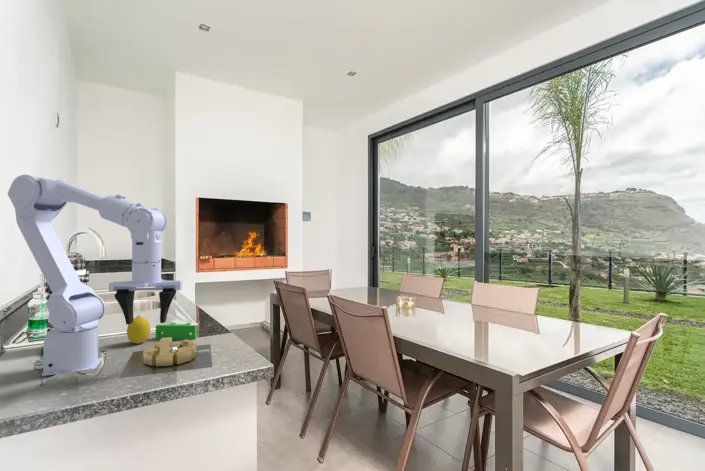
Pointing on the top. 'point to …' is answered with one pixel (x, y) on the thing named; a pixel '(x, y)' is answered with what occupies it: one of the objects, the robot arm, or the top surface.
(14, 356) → the top surface
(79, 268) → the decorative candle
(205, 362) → the dark grey square slab
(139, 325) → the lemon
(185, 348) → the tan segmented ring
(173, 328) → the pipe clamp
